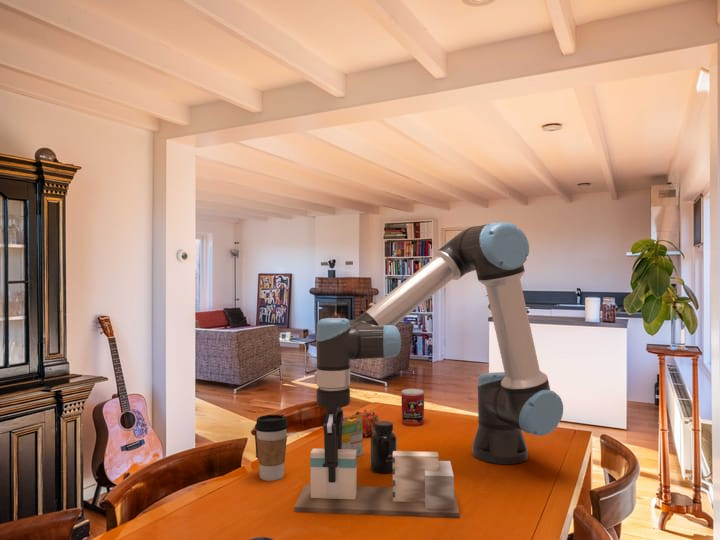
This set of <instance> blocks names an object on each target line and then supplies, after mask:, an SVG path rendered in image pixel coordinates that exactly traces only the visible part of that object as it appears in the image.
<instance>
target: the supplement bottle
mask: <svg viewBox="0 0 720 540" xmlns="http://www.w3.org/2000/svg"><path fill="white" fill-rule="evenodd" d="M374 430H375V431H373V432H372V433H371V434H370V435H371V436H370V469H371V470H372V472H374V473H378V474H390V473H393V451H398V450H397V449H398V444H397V443H398V438H397V435H396V434H395V433H394V432H393V431H394V423H393V422H392V421H387V420H378V422H375V428H374Z"/></svg>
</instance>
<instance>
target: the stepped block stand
mask: <svg viewBox="0 0 720 540" xmlns="http://www.w3.org/2000/svg"><path fill="white" fill-rule="evenodd" d="M454 479H455V476H454V471H453V467H452V463H451V460H439V452H438V451H413V450H412V451H410V450H397V451H393V472H392V486H390V487H389V486H367V485H366V486H364V485H363V486H359V485H357V495H356V499H355V500H354V499H325V498H311V484H304V486H303V489H302V490H301V493H300V495H299V496H298V499H297V500H296V503H295V505H294V506H293V512H295V511H296V512H295V513H317V514H319V513H320V514H347V515H371V516H372V515H373V516H401V517H402V516H404V517H424V518H425V517H427V518H428V517H430V518H451V519H452V518H453V519H454V518H455V519H457V518H458V519H459V518H460V517H461V516H460V508H459V505H458V500H457V496H456V492H455V482H454V481H455V480H454Z"/></svg>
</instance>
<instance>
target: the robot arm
mask: <svg viewBox="0 0 720 540" xmlns="http://www.w3.org/2000/svg"><path fill="white" fill-rule="evenodd" d="M529 253H530V243H529V240H528V238H527V236H526V233H524V231H523V230H522V229H521V228H520V227H518V226H517V225H516V224H514V223H511V222H507V221H505V222H503V221H502V222H501V221H496V222H491V223H486V224H481V225H475V226H471V227H467V228H466V229H464V230H462V231H460V232H459V233H458V234H457V235H455V236H454V237H453V238H451V239H450V240H449V241H447V243H445V244H444V245H443V246H442V247H440V248H439V249H438V250H437V251H435V253H434V258H432V259H431V260H430V261H427V263H426V264H424V265H423V266H422V267H421V268H419V269H418V270H417V271H416V272H414V273H413V274H412V275H410V276H409V277H408V278H406V279H405V280H404V281H402V282H401V283H400V284H399V285H398V286H396V287H395V288H394V289H393V290H391V291H390V292H388V294H386V295H385V296H384V297H382V298H381V299H380V300H379V301H377V302H376V303H374V304H373V305H372V306H371V307H369V309H367V310H365V312H363V313H361V314H360V315H359V316H357V318H355V319H351V320H349V319H348V318H345V317H344V318H343V317H328V318H327V317H326V318H322V319H319V320H318V321H317V322H316V334H315V336H316V338H315V341H316V343H315V345H316V346H315V347H316V348H315V349H316V371H315V372H314V374H313V375H314V377H317V378H316V385H317V387H318V388H317V389H316V405H317V406H319V407H321V408H324V409H326V411H325V413H323V425H322V428H323V437H324V438H323V439H324V440H323V441H324V444H323V445H324V446H323V447H324V448H323V449H325V463H324V464H323V467H326V496H339V465H338V449H342V419H343V417H344V411H343V408H344V407H347V406H349V405H350V404H351V388H350V385H351V365H350V364H351V363H350V362H351V360H370V359H371V360H372V359H389V358H394V357H397V356H398V355H399V354H400V352H401V348H402V338H401V337H402V336H401V332H400V330H399V328H397V326H396V325H397V324H399V323H400V322H401V321H402V320H403V319H404V318H405V317H407V316H408V315H409V314H411V313H412V312H413V311H414V310H416V309H417V308H418V307H419V306H421V305H422V304H424V303H425V302H426V301H427V300H428V299H430V298H431V297H432V296H433V295H435V294H436V293H437V292H438V291H439V290H441V289H442V288H443V287H445V286H446V285H448V284H449V283H450V282H451V281H452V280H453V281H454V280H455V281H458V280H460V279H461V278H462V277H463V276H465V275H467V274H468V273H471V272H474V271H475V272H476V278H477V280H478V282H479V283H481V284H482V285H483V286H485V288H486V293H487V298H488V303H489V308H490V311H491V317H492V322H493V326H494V330H495V334H496V338H497V339H496V340H497V343H498V349H499V353H500V357H501V362H502V366H503V371H504V372H503V371H499V372H485V373H481V374H480V375H479V376H478V378H477V379H478V380H477V386H476V388H477V410H478V411H477V412H478V413H477V417H478V418H477V419H478V425H477V428H476V431H475V435H474V438H473V442H472V447H471V449H472V450H471V451H472V452H471V453H472V455H473V456H474V457H475V458H477V459H478V460H480V461H484V462H487V463H491V464H498V465H513V464H515V465H516V464H521V463H524V462H526V461H527V460H528V459H529V449H528V446H527V443H526V439H525V436H524V434H523V432H524V433H525V434H531V435H534V436H541V437H542V436H547V435H549V434H550V433H552V432H553V431H555V429H556V428H557V427H558V426H559V423H560V422H561V420H562V419H563V415H564V404H563V400H562V397H561V396H560V395H559V394H557V393H556V392H555V391H554V390H551V387H550V382H549V378H548V375H547V374H546V373H544V372H542V371H541V370H540V366H539V365H540V364H539V361H538V356H537V353H536V352H537V351H536V347H535V343H534V338H533V333H532V329H531V323H530V320H529V314H528V311H527V305H526V301H525V296H524V291H523V287H522V282H521V278H522V277H523V275H524V274H525V272H526V270H525V265H524V264H525V263H526V261H527V257H528V256H529ZM341 408H342V409H341Z"/></svg>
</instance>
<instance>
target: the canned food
mask: <svg viewBox="0 0 720 540" xmlns="http://www.w3.org/2000/svg"><path fill="white" fill-rule="evenodd" d="M400 397H401V398H400V399H401V422H402V424H403V425H404V426H407V427H421V426H423V425H424V422H425V391H424V390H422V389H418V388H406V389H402V390H401V396H400Z"/></svg>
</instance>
